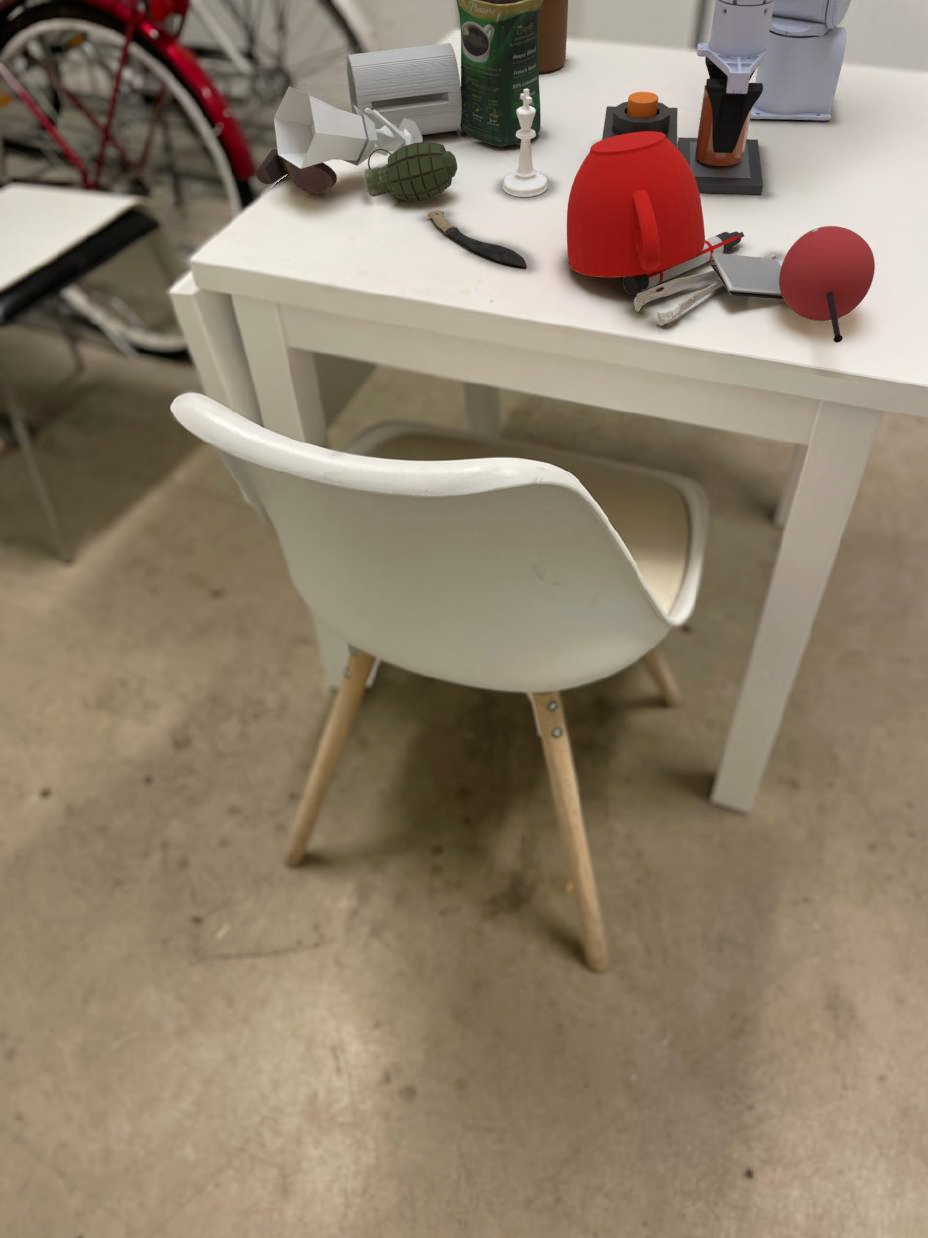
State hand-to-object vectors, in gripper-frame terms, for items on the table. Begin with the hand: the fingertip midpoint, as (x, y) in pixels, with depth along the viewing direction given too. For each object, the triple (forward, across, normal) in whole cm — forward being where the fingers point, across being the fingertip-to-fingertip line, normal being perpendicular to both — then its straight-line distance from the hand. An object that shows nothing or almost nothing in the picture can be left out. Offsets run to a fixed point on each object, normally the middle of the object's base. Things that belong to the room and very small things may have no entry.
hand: (722, 140), depth 104 cm
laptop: (0, +26, +3) cm, 27 cm away
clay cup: (+2, 0, 0) cm, 2 cm away
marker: (+2, +23, -2) cm, 23 cm away
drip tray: (+3, 0, 0) cm, 3 cm away
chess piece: (+3, +6, -21) cm, 22 cm away
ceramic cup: (-9, +23, -10) cm, 27 cm away
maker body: (+3, 0, -9) cm, 10 cm away
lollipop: (-1, +41, +8) cm, 42 cm away
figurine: (-5, +12, -45) cm, 46 cm away
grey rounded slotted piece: (-1, -5, -43) cm, 43 cm away
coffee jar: (+3, -8, -26) cm, 27 cm away
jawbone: (+4, +26, -1) cm, 26 cm away
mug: (+3, -30, -25) cm, 39 cm away
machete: (+4, +18, -22) cm, 29 cm away
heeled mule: (+2, +9, -47) cm, 48 cm away
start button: (-2, 0, -9) cm, 9 cm away
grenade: (0, +8, -28) cm, 29 cm away
